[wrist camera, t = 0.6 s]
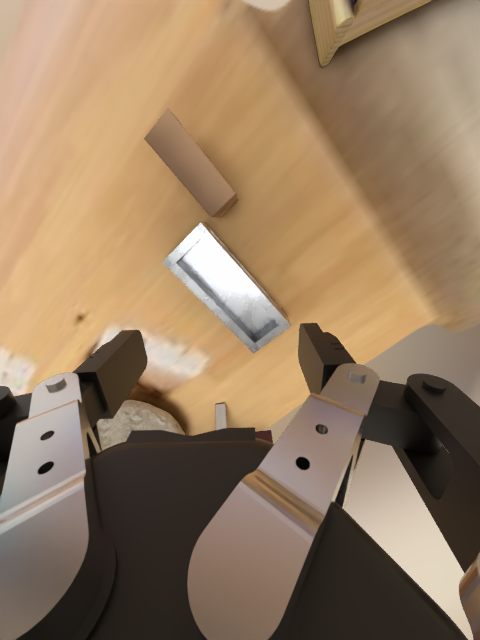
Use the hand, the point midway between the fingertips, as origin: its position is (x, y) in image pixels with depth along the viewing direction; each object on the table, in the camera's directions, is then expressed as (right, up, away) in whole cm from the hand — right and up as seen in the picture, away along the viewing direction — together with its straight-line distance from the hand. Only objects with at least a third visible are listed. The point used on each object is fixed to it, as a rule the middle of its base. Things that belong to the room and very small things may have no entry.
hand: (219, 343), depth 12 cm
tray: (0, +6, +23) cm, 24 cm away
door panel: (-3, +18, +17) cm, 25 cm away
